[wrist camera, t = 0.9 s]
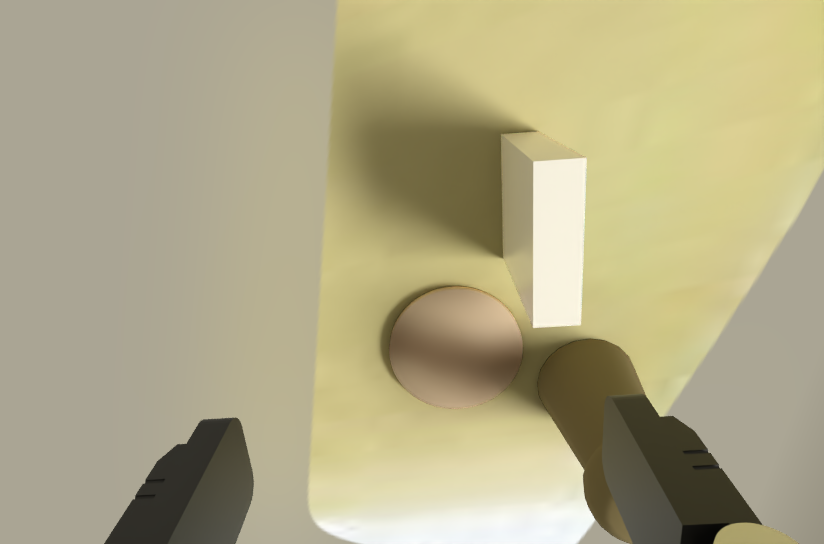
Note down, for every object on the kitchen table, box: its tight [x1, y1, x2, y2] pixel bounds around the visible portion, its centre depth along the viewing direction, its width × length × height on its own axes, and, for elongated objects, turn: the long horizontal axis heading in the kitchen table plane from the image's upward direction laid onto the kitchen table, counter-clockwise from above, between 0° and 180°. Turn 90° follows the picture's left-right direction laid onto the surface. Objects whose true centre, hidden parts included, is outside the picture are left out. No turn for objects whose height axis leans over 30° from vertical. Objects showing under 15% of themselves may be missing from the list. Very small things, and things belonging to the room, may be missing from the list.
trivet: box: [389, 286, 523, 409], centre depth 34 cm, size 8×8×1 cm
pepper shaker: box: [537, 339, 646, 544], centre depth 30 cm, size 6×6×11 cm
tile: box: [501, 131, 587, 328], centre depth 27 cm, size 7×2×9 cm, turn 4°
